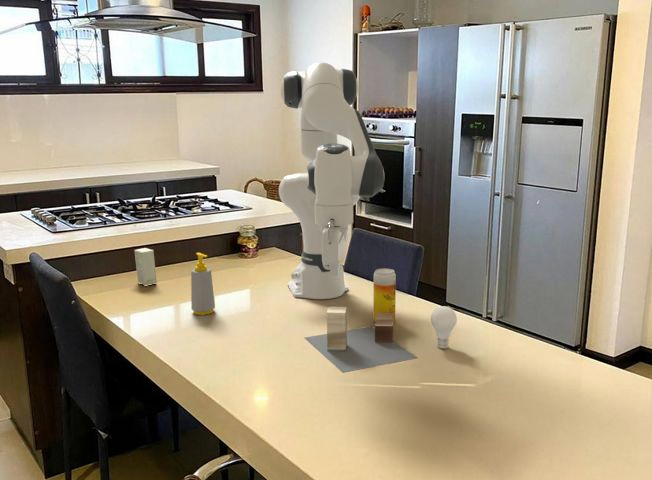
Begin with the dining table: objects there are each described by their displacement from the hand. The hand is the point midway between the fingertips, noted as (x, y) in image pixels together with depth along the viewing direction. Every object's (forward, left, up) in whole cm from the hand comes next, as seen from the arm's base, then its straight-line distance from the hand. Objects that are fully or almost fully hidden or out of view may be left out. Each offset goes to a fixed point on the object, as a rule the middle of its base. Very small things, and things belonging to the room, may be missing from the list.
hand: (334, 273), depth 148 cm
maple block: (-5, +3, -21) cm, 22 cm away
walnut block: (-3, +15, -19) cm, 24 cm away
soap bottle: (-48, -21, -22) cm, 57 cm away
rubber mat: (-3, +8, -21) cm, 23 cm away
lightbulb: (+6, +27, -22) cm, 35 cm away
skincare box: (-86, -32, -22) cm, 95 cm away
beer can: (-17, +23, -22) cm, 36 cm away
